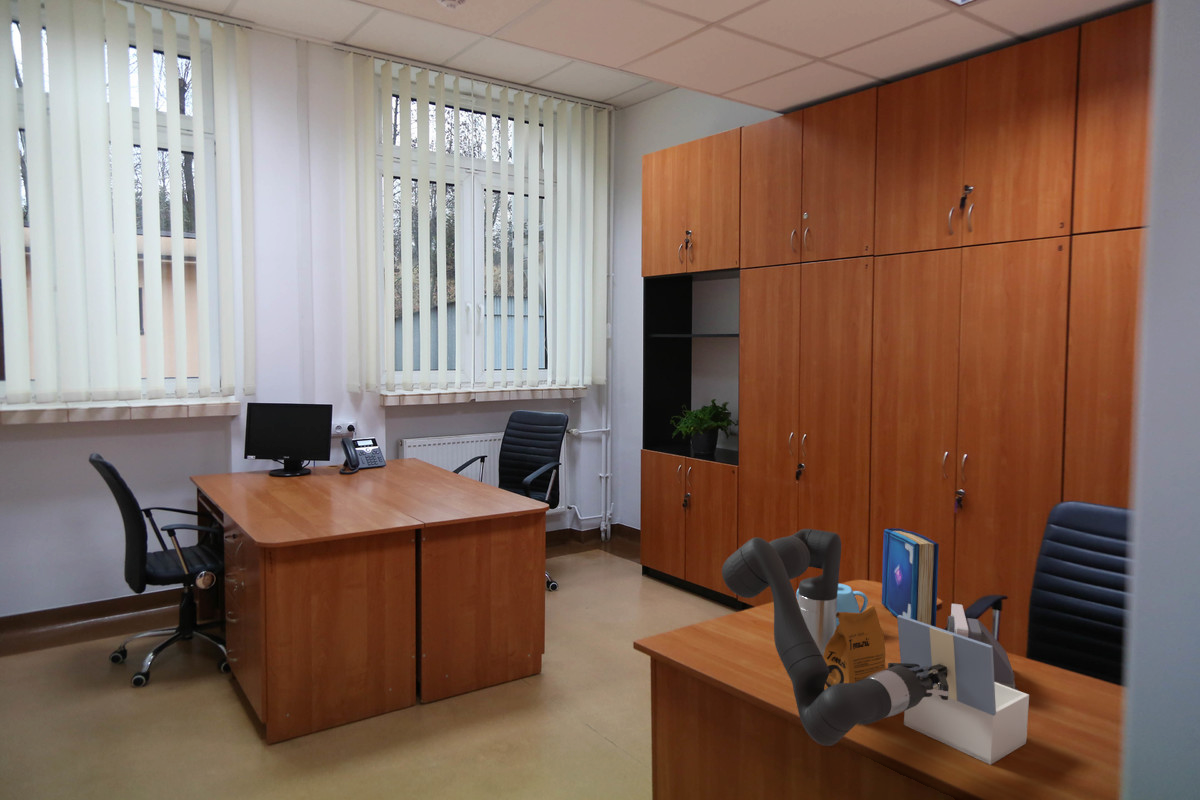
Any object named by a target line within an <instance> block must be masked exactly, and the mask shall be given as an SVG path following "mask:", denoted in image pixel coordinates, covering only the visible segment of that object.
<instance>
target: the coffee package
mask: <svg viewBox="0 0 1200 800" xmlns="http://www.w3.org/2000/svg"><path fill="white" fill-rule="evenodd" d="M836 617H837V618H839V625H837V628H836V630H835V633H834V635H833V636H832V638H831V639H830V640H829V642H828V644H827V646H826V648H825V651H824V655H823V658H824V660H825V661H826V663H827V666H828V668H829V676H828V678H827V681H826V683H825V687H824V690H825V689H827V688H829V687H830V686H833V685H835V684H839V683H855V682H857V681H860V680H863V679H865V678H867V677H868V676H870V675H872V674H874V673H877V672H880V671H882V670H885V669H886V642H885V636H884V633H883V628H882V626H881V624H880V620H879V617H878V613H877V609H876V607H875V605H869V606H868V605H867V607H866V609H865V610H864V611H863V612H862V613H849V612H837V614H836Z"/></svg>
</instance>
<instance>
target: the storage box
mask: <svg viewBox="0 0 1200 800" xmlns="http://www.w3.org/2000/svg"><path fill="white" fill-rule="evenodd" d="M994 683H995V702H996V714H995V715H994V716H993V715H991V714H988V713H986V712H983V711H981V710H978V709H976V708H973V707H971V706H969V705H966V704H964V703H961V702H959V701H955V700H953V699H951V698H948V700H943V699H941V697H940V696H938V695H937V694H933V695H932V696H931V697H923V698H922V700H921V701H920V702H919V703H918V704H917V705H916V706H914V707H912V708H910V709H908V710H905V711H904V715H903V716H904V717H903V725H904V726H905V727H907V728H910V729H912V730H915V731H916V732H918V733H920V734H923V735H926V737H929V738H932V739H934V740H936V741H937V742H939V743H940V742H941V743H943V744H944V745H947V746H949V747H951V748H952V749H955V750H957V751H960V752H962V753H964V754H965V755H968V756H971V757H972V758H975V759H977V760H978V761H981V762H984V763H985V764H987V765H989V766H990V765H992V764H994V763H996V762H997V761H999V760H1001V759H1002V758H1004V757H1006V756H1008V755H1009V754H1010V753H1012V752H1014V751H1015V750H1017V749H1019V748H1021V747H1022V746H1024V745H1026V744H1027V735H1028V721H1029V720H1028V719H1029V703H1030V701H1029V700H1030V694H1028V693H1026V692H1022V691H1020V690H1019V689H1018V690H1015V689H1012V688H1010V687H1007V686H1004V685H1001V684H999V683H996V682H994Z"/></svg>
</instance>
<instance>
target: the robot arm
mask: <svg viewBox="0 0 1200 800" xmlns="http://www.w3.org/2000/svg"><path fill="white" fill-rule="evenodd" d="M841 554H842V540H841V537H840V535H839V533H836V532H833V531H832V532H831V531H826V530H820V529H819V530H818V529H813V528H803V529H799V531H796V532H795V533H793V534H791V535H788V536H782V537H779V538H775V539H773V540H771V541H769V542H768V541H767V540H765V539H763V538H762V537H761V538H760V537H759V536H757V537H756V536H755V537H753V538H751V539H749V540H747V541H746V542H745V543H743V545H742V546H740V547H739V548H738V549H737V550H736V551H734V552H733V553H732V554H731V555H730V556H728V557H727V559H725V561H724V563H723V564H722V568H721V576H722V579H723V581H724V583H725V585H726V587H727V588H728V589H729V590H730V591H731V592H732V593H733V594H735V595H736V596H739V597H741V598H745V599H751V598H755V597H757V596H758V595H760V594H761V593H762V592H764V591H765V590H766V589H767V588H768V587H770V590H771V594H772V600H773V602H772V603H773V636H774V637H773V638H774V640H773V641H774V644H775V649H776V652H777V655H778V657H779V659H780V661H781V663H782V665H783V667H784V670H785V671H786V674H787V675H788V677H789V679H790V681H791V684H792V689H793V694H794V695H793V696H794V698H795V703H796V707H797V712H798V715H799V718H800V722H801V724H802V726H803V728H804V730H805V732H806V733H807V734H808V736H809V737H810V738H811V739H812V740H813V741H814V742H816V743H817V744H820V745H822V746H824V747H828V746H833V745H836V744H837V743H838V742H839V741H840V740H842V738H843V737H845V735H847V734H848V733H849V732H850V731H851V730H852V729H853V728H854V727H856V726H857V725H862V726H863V725H864V726H865V725H871V724H873V723H876V722H878V721H881V720H882V719H885V718H890V717H893V716H896V715H898V714H900V713H903V712H905V710H908V709H910V708H912V707H914V706H916V705H917V704H918V703H919V702H920V701H921V700H922V698H923V697H931V696H932V695H933V694H937V695H938V696H940V697H941V699H943V700H948V690H949V686H948V683H947V680H946V678H947V672H948V670H947V667H946V666H943V665H941V664H937V665H933V666H931V667H927V666H924V667H921V668H920V665H918V664H907V663H901V662H888V664H887V668H885V670H882V671H880V672H877V673H874V674H872V675H870V676H868V677H867V678H865V679H863V680H860V681H857V682H855V683H839V684H835V685H833V686H830V687H829V688H827V689H825V690H824V687H825V683H826V681H827V678H828V676H829V668H828V666H827V663H826V661H825V660H824V658H823V655H824V651H825V648H826V646H827V644H828V642H829V640H830V639H831V638H832V636H833V635H834V633H835V630H836V614H837V592H838V583H839V582H840V581H839V578H840V567H841V565H840V563H841V556H842V555H841ZM808 568H814V569H820V570H822V573H821V575H818V576H814V577H807V578H804V579H802V580H801V581H800V582H799V584H798V589H799V598H798V600H797V595H796V593H795V590H794V587H793V585H792V583H791V580H793V579H796V578H798V577H800V576H802V574H804V573H806V571H807V570H808ZM936 684H937V686H936V687H933V686H935V685H936Z"/></svg>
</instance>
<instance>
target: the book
mask: <svg viewBox="0 0 1200 800" xmlns="http://www.w3.org/2000/svg"><path fill="white" fill-rule="evenodd" d="M882 541H883V544H882V545H883V546H882V547H883V549H882V580H881V605H882V606H883V607H884V608H886V609H888V611H889V613H890V612H891V614H892V615H893V616H894V617H895V616H896V617H895V618H897V616H899V615H901V616H904V617H907V618H910V619H913V620H916V621H919V622H922V623H925V624H928V625H931V626H934V627H937V608H938V607H937V605H938V603H937V601H938V581H939V580H938V579H939V578H938V576H939V575H938V574H939V549H940V544H939V543H938V542H936V541H934V540H932V539H930V538H929V537H926V536H925V535H922V534H920V533H918V532H915V531H912V530H911V531H909V530H906V529H903V528H895V527H892V528H886V529H884V530H883V540H882Z"/></svg>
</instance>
